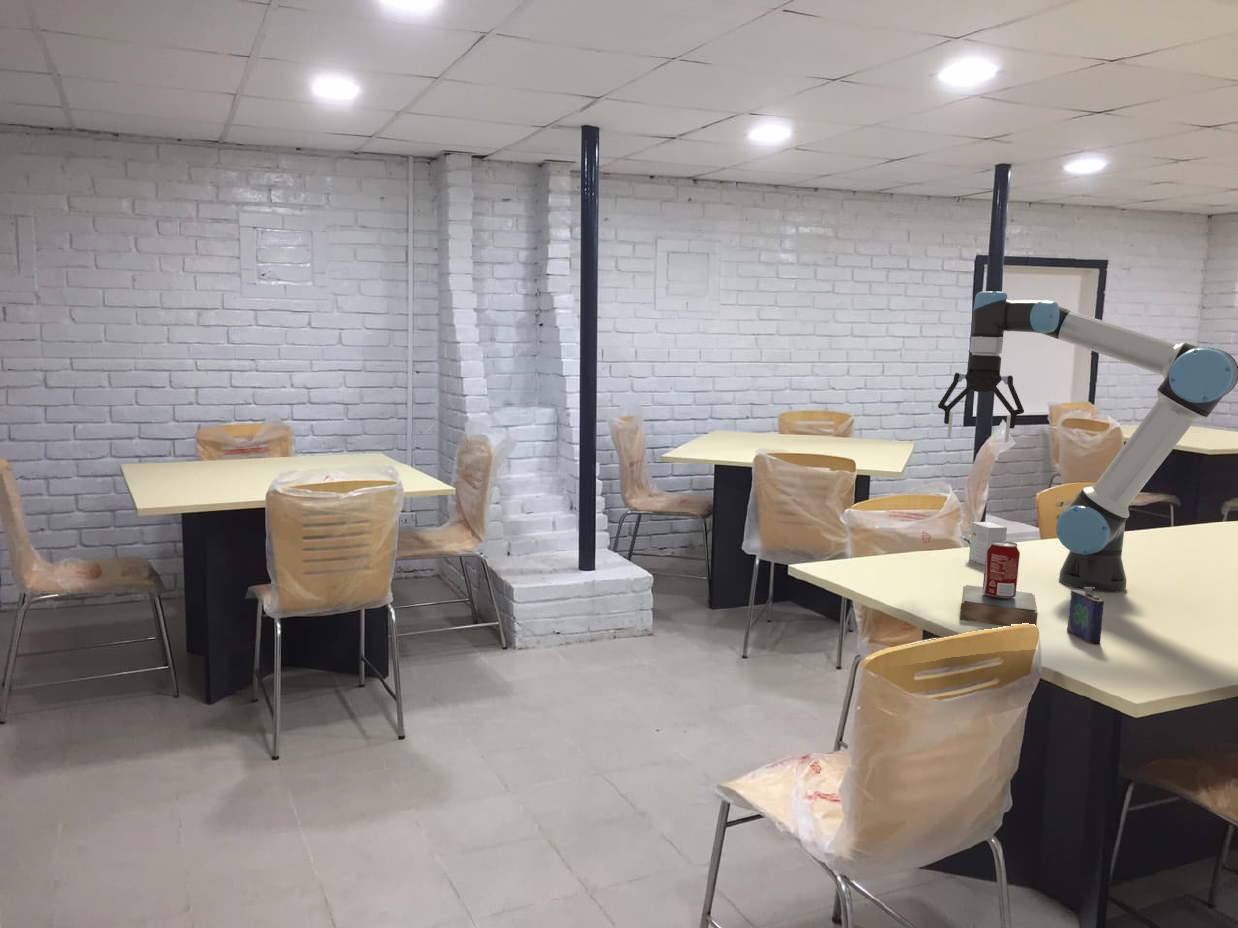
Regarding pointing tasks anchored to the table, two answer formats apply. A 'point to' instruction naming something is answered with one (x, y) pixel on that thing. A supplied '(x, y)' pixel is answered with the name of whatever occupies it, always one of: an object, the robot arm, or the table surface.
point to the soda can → (1001, 570)
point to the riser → (997, 607)
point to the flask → (1086, 615)
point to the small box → (984, 539)
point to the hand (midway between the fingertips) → (977, 439)
